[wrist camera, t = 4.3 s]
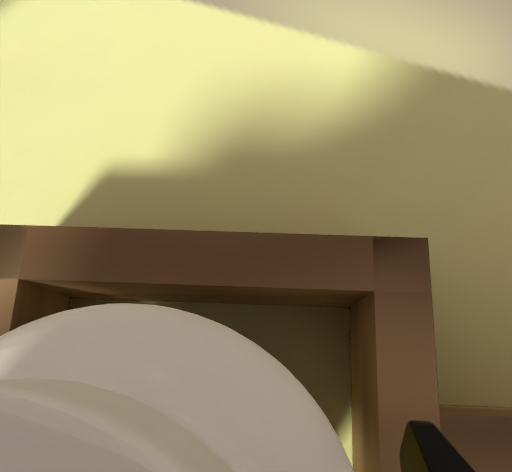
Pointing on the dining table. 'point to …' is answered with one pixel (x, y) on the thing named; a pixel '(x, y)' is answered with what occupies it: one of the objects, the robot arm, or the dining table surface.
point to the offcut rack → (274, 293)
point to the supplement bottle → (153, 398)
